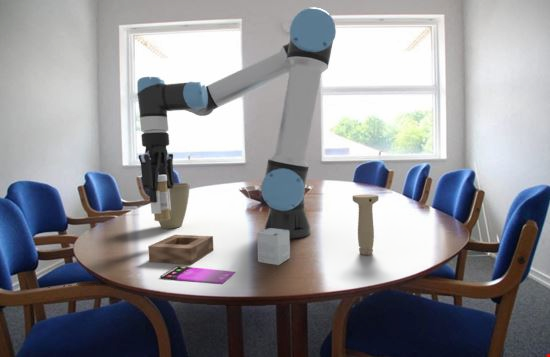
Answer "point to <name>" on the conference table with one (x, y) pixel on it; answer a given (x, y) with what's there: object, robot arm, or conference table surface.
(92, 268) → the conference table surface
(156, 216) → the sprinkles bottle
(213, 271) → the smartphone
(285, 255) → the skincare box
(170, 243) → the bore block
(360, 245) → the handle
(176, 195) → the plant pot
